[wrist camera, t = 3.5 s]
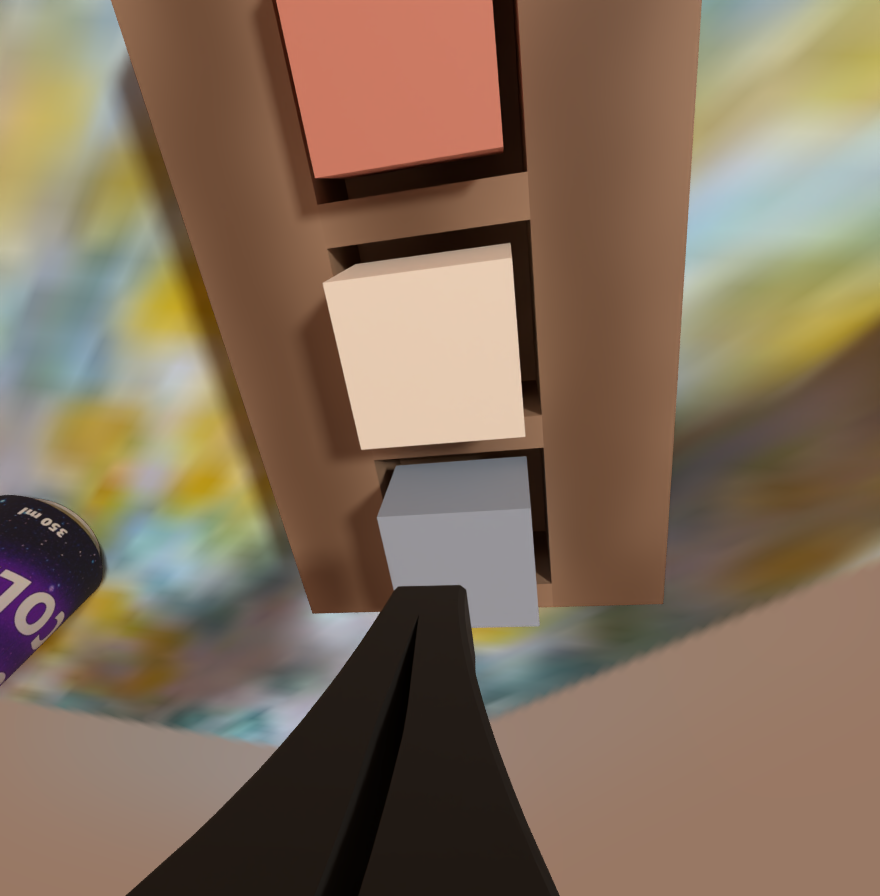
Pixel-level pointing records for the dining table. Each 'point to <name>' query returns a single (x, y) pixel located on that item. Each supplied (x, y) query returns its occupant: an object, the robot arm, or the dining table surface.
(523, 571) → the grey block
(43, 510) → the beverage can
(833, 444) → the dining table surface
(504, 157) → the brown slotted tray
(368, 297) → the ivory key
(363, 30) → the red key
